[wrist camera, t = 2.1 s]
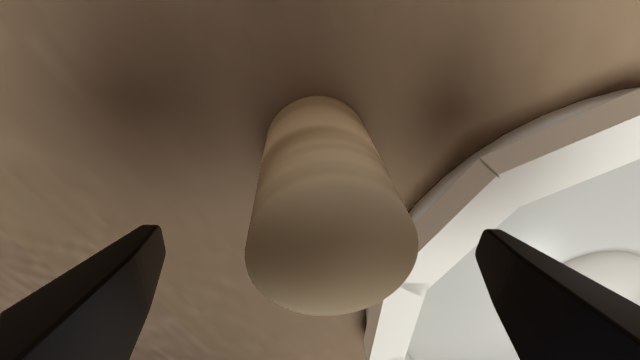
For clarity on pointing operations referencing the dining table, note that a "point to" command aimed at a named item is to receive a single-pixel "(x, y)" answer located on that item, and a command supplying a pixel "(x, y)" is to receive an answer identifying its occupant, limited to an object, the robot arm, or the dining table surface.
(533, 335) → the robot arm
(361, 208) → the tan rounded cylinder
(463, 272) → the ring tray
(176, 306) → the dining table surface
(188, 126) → the dining table surface
